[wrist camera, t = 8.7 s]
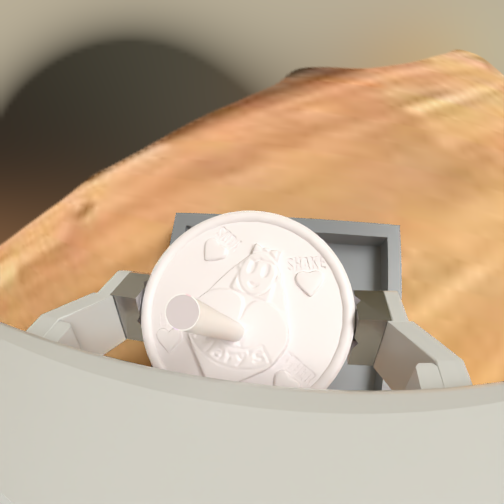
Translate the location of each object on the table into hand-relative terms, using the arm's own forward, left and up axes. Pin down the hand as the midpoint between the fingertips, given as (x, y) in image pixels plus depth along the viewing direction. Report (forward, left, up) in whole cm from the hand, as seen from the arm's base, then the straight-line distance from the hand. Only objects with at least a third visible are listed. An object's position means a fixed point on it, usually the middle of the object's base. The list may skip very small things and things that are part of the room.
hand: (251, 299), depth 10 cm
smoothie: (0, -1, -8) cm, 8 cm away
